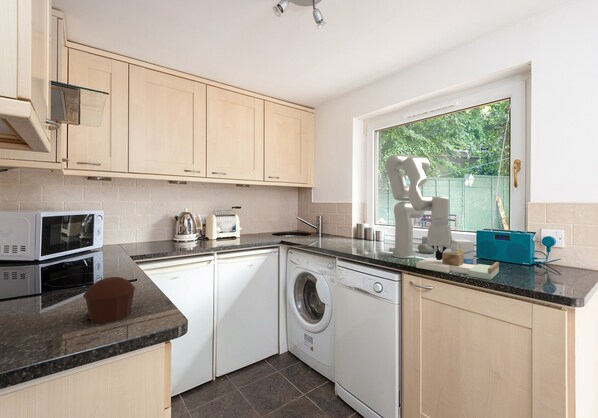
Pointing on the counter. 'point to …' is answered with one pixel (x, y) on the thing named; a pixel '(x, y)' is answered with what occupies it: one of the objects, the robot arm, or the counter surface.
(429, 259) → the platform
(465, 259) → the ink box
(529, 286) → the counter surface
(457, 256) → the walnut block
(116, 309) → the muffin
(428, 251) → the air freshener
